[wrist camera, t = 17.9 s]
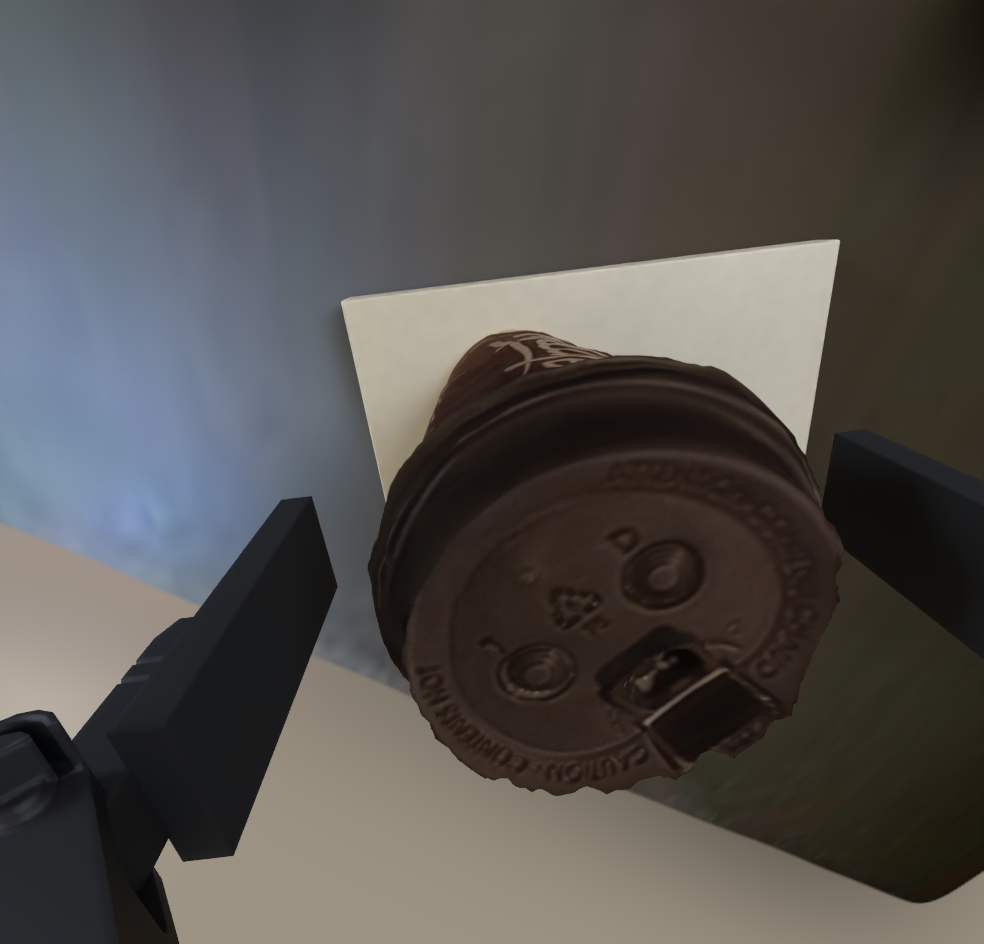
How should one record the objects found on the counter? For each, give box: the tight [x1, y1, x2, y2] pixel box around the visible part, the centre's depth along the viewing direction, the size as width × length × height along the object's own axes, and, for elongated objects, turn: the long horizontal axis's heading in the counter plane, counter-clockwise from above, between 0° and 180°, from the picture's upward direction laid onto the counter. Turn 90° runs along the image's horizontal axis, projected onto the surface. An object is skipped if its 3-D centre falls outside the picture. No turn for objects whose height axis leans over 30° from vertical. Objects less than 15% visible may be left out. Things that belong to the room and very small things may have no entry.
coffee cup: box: [368, 329, 845, 796], centre depth 14 cm, size 9×8×13 cm
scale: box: [341, 240, 840, 501], centre depth 21 cm, size 18×15×3 cm
